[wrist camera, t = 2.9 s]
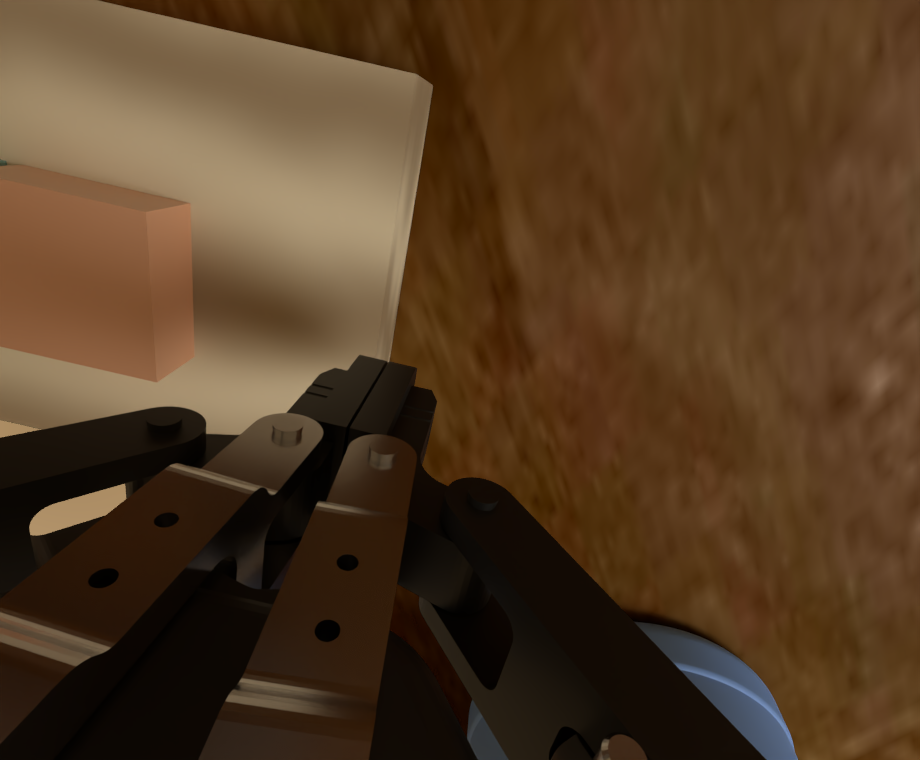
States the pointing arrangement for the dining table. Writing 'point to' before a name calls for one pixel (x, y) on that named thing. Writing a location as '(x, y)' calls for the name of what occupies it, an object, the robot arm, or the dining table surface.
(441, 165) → the dining table surface
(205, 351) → the birch board
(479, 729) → the water jug
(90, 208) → the terracotta tile
